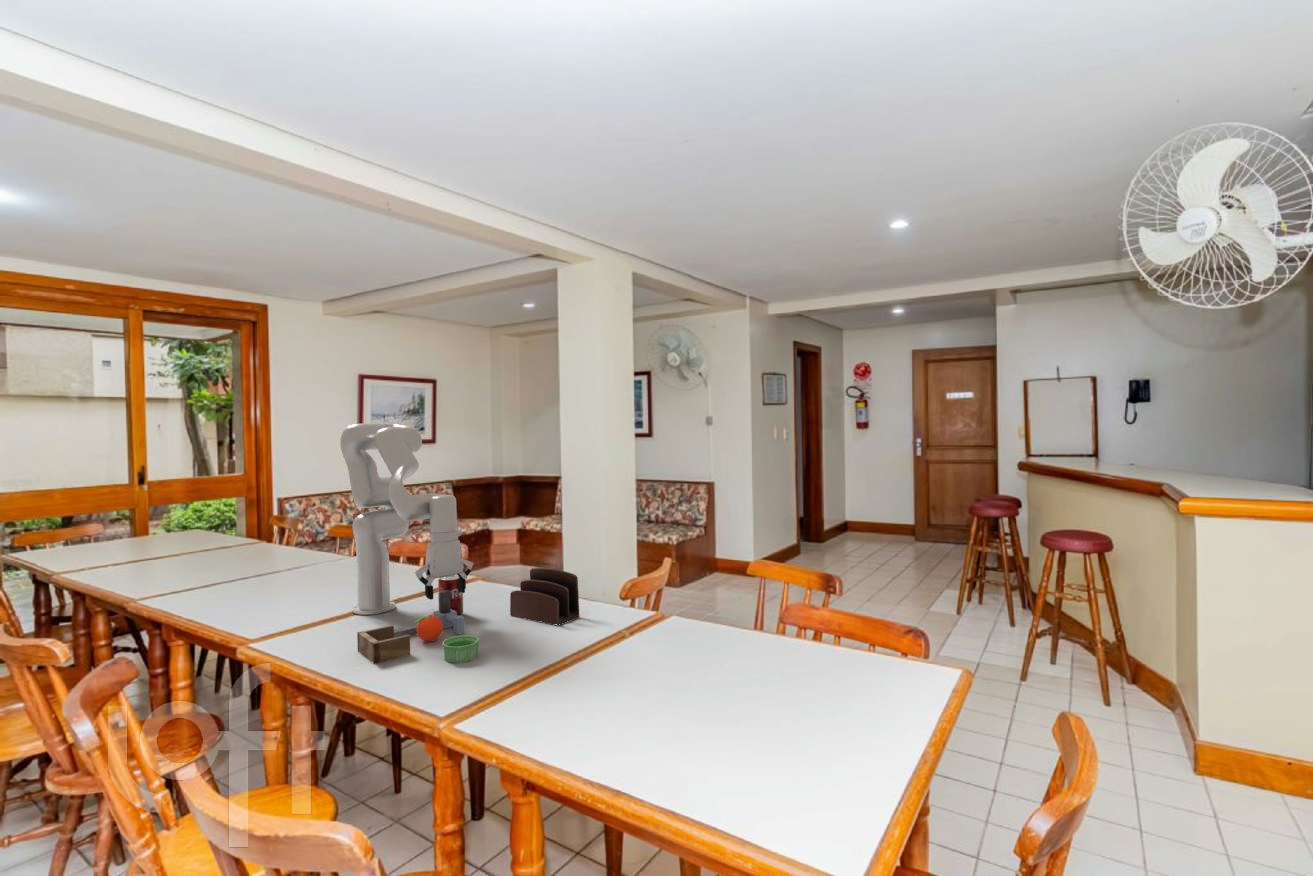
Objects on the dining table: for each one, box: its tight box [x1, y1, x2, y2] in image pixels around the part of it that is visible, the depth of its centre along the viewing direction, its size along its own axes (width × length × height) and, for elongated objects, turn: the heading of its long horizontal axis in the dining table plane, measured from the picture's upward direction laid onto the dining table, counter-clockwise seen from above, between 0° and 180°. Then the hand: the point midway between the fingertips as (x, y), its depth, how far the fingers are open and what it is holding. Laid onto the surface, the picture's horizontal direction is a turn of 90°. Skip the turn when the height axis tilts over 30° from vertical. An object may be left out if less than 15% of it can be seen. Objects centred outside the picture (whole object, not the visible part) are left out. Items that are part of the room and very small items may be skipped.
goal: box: [356, 624, 411, 665], centre depth 168 cm, size 12×9×5 cm
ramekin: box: [442, 634, 480, 664], centre depth 164 cm, size 9×9×4 cm
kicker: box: [432, 590, 465, 635], centre depth 186 cm, size 13×5×10 cm, turn 43°
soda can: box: [437, 574, 464, 616], centre depth 200 cm, size 7×7×12 cm
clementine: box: [413, 614, 444, 642], centre depth 177 cm, size 8×7×7 cm
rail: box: [394, 623, 418, 638], centre depth 184 cm, size 3×22×2 cm, turn 133°
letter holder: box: [509, 567, 580, 626], centre depth 198 cm, size 10×20×14 cm, turn 57°
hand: (446, 595), depth 189 cm, fingers open, 9 cm apart
